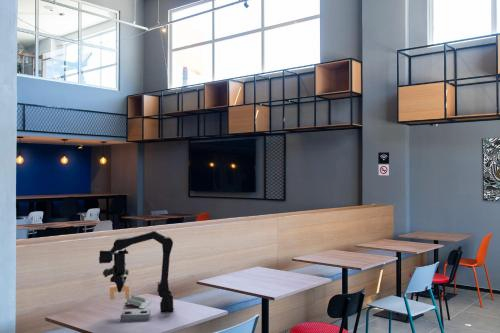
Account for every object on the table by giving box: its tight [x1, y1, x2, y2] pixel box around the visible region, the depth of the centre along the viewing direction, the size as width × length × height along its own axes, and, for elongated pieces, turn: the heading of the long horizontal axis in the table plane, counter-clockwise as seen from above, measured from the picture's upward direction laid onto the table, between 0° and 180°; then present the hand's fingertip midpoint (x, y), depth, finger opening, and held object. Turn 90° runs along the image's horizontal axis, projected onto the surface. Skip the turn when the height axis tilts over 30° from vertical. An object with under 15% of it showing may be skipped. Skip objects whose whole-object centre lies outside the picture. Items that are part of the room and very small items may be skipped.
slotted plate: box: [120, 309, 152, 322], centre depth 246 cm, size 14×8×3 cm, turn 95°
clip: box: [109, 284, 131, 300], centre depth 254 cm, size 10×2×6 cm, turn 94°
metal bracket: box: [124, 294, 153, 310], centre depth 271 cm, size 14×6×15 cm
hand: (120, 291), depth 254 cm, fingers closed on clip, 2 cm apart
